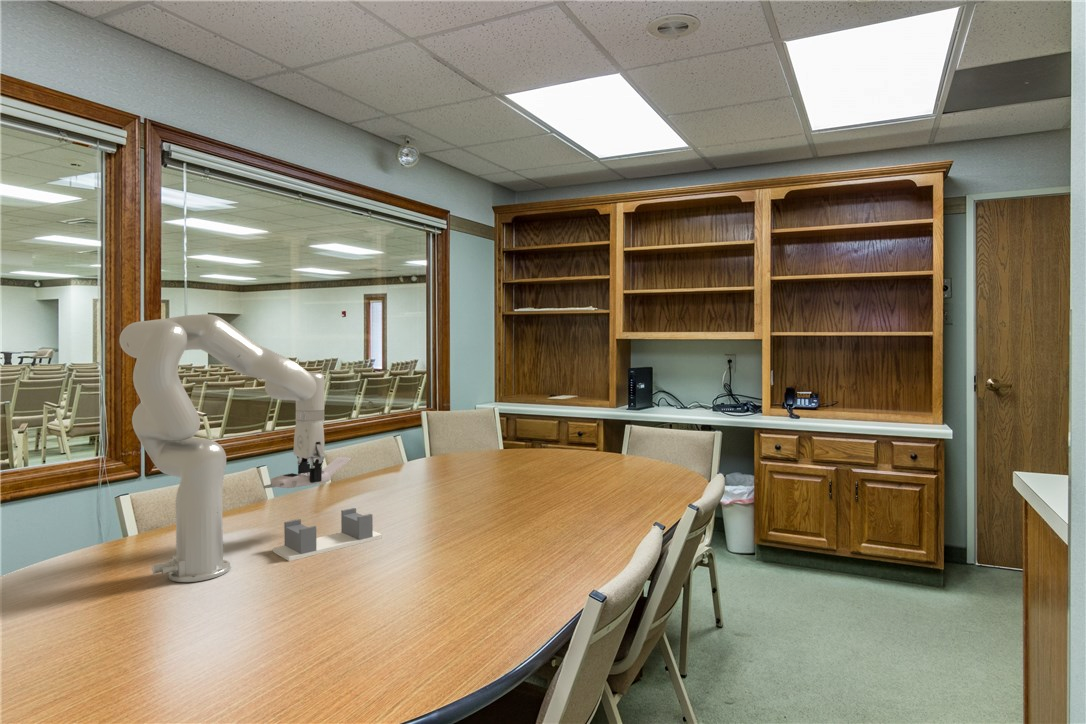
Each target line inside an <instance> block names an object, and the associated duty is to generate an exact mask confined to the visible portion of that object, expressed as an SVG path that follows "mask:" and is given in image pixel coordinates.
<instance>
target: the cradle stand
mask: <svg viewBox="0 0 1086 724" xmlns="http://www.w3.org/2000/svg"><path fill="white" fill-rule="evenodd" d="M340 512H341V515H340V517H341V523H340V525H341V526H340V527H341V529H340V530H341V532H338V533H337V532H336V533H333V534H329V535H328V534H327V535H324V536H319V537H317V526H316V525H312V526H311V525H310V526H306V525H304V524H302V519H300V518H298V519H292V520H286V521H284V523H283V526H284V528H283V529H284V530H283V531H284V545H280V546H277V547H273V548H272V553H275V555H278V556H280V557H281V558H283V559H285V560H287V561H288V562H293V561H296V560H299V559H304V558H307V557H311V556H312V557H313V556H315V555H320V554H323V553H324V554H325V553H327V552H331V551H336V550H339V549H344V548H348V547H351V546H356V545H361V544H363V543H368V542H372V541H375V540H376V541H377V540H381V539H383V534H382V533H379V532H377V531H375V530H373V528H374V527H373V514H372V513H367V514H361V513H358V512H357V508H355V507H352V508H347V509H342V510H341V511H340Z"/></svg>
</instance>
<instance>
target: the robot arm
mask: <svg viewBox="0 0 1086 724" xmlns="http://www.w3.org/2000/svg"><path fill="white" fill-rule="evenodd" d="M119 345H120V347H121V349H122V351H123V352H124V353H125V354H127V355H128V356H129V357H131V358H134V359H136V361H135V365H134V368H133V373H132V381H133V386H134V389H135V392H136V393H137V396H138V397H139V400H140V403H139V404H138V405H136V407H135V409H134V411H133V413H132V418H131V424H132V428H133V430H134V433H135V435H136V437H137V439H138V440H139V442H140V444H141V446H142V448H143V449H144V450H145V452H146V453H147V455H148V456H149V458H150V460H151V461H152V463H153V465H154V466H155V467H156V468H157V470H159V472H161V473H163V474H165V475H167V476H169V477H170V476H172V477H176V478H180V482H179V485H178V487H177V491H176V495H175V496H176V497H175V542H176V543H175V546H176V547H175V549H176V550H175V551H176V553H175V555H172V557H171V558H172V559H170V560H168V561H167V562H163V563H157V564H154V565H152V566H151V571H152V574H153V575H155V574H159V573H160V574H161V575H164V574H168V579H169V580H170V581H172V582H176V583H196V582H203V581H207V580H212V579H215V578H217V577H220V576H222V575H224V574H226V573H228V571H230V569H231V562H230V561H228V560H225V559H224V545H223V544H224V541H223V538H224V537H223V536H224V535H223V534H224V533H223V532H224V530H223V526H224V525H223V523H224V522H223V487H224V486H223V484H224V477H225V471H226V467H227V453H226V451H225V449H224V448H223V447H222V445H221V444H220V443H218V442H217V441H214V440H211V439H208V438H202V437H201V438H200V437H194V436H195V435H196V434H197V433H198V432H199V430H200V427H201V419H200V415H199V413H198V410H197V409H196V408H195V406H194V403H193V402H192V400H191V399H190V396H189V395H188V393H187V391H186V389H185V387H184V386H183V383H182V381H181V378H180V376H179V364H180V361H181V358H182V357H183V355H184V353H185V351H191V350H192V351H193V350H197V351H198V350H201V351H203V352H205V353H207V354H208V355H210V356H211V357H213V358H214V359H215V360H218V361H219V362H220V363H222V364H224V365H225V366H226V367H228V368H229V369H231V370H233V371H234V372H236V373H238V374H241V375H244V376H247V377H251V378H255V379H260V380H264V382H265V383H264V390H265V392H266V394H267V395H268V396H269V397H270V398H272V399H275V400H280V401H295V426H294V437H293V455H294V456H296V459H297V474H302V473H309V472H310V483H315V482H321V481H322V470H323V463H324V460H325V458H326V454H325V430H324V422H325V393H326V392H325V375H324V374H323V373H320V372H309V371H307V370H306V369H305V368H304V367H303V366H301V365H300V364H298V363H296V362H295V361H294V360H291V359H290V358H287V357H286V356H284V355H282V354H279V353H278V352H275V351H273V350H271V349H268V348H266V347H264V346H262V345H260V344H258V343H257V342H255V341H253V340H252V339H251V338H250V337H248V336H247V335H246V334H244V333H242V332H241V331H240V330H238V329H237V328H235V326H233V325H232V324H230V323H229V322H227V321H226V320H224V319H223V318H221V317H220V316H218V315H215V314H211V313H209V314H208V313H206V314H204V313H203V314H185V315H180V316H174V317H168V318H160V319H151V320H144V321H143V320H142V321H136V322H132V323H130V324H128V325H126V326H125V327H124V328H123V329H122V331H121V333H120V334H119Z"/></svg>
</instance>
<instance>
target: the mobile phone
mask: <svg viewBox="0 0 1086 724" xmlns="http://www.w3.org/2000/svg"><path fill="white" fill-rule="evenodd" d="M352 459H353V458H352V457H347V456H346V457H345V456H338V457H336V458H334V459H333V460H332V461H331V462H330V463H329V464H328V465H326V466H325V467H324V468H322V481H321V482H315V483H310V472H309V473H302V474H298V473H286V474H282V475H279V476H275V477H272V478H271V479H270V483H269V484H266V485H263V489H270V488H282V489H296V488H300V487H307V486H310V485H317V484H322V483H327V482H330V480H331V478H332V475H333V474H335V473H336V472H337V471H338V470H340V469H341V468H342V467H344V466H345V465H346V464H347V463H348V462H349V461H351V460H352Z"/></svg>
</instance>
